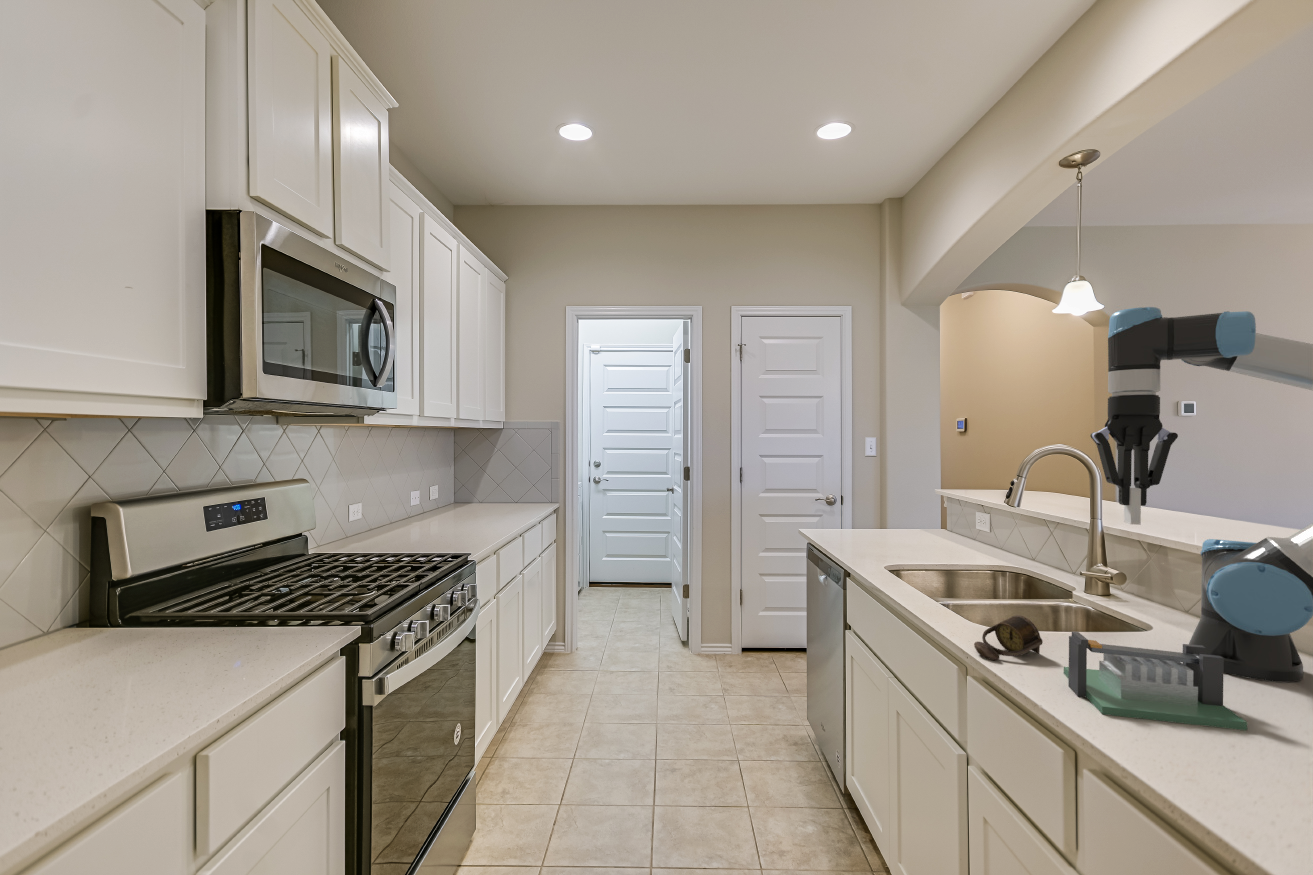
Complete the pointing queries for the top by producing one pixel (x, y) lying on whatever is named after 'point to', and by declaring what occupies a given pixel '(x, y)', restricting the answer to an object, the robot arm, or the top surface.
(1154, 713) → the board
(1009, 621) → the antique brown clock
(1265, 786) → the top surface
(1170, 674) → the heatsink
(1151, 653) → the strap
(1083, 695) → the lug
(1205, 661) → the grey u-bracket
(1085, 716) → the top surface
